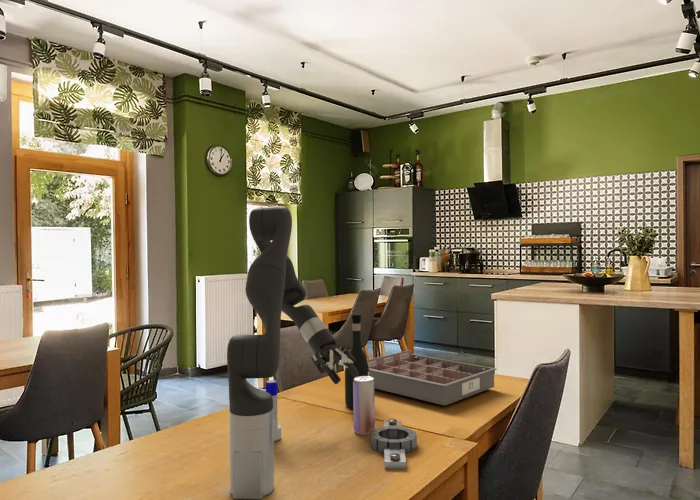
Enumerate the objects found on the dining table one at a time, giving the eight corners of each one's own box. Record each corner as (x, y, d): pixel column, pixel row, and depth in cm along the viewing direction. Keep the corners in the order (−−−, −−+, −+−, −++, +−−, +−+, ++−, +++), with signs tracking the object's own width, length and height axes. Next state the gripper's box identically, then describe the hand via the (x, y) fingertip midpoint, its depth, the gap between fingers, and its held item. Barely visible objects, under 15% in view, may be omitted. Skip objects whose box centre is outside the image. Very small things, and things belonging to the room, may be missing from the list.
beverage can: (350, 433, 146) (349, 379, 146) (359, 426, 151) (359, 375, 151) (369, 436, 143) (368, 382, 143) (378, 429, 148) (377, 377, 148)
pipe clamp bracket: (420, 469, 122) (420, 456, 122) (370, 468, 122) (369, 455, 122) (412, 426, 151) (412, 416, 151) (372, 426, 151) (371, 415, 151)
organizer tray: (445, 411, 165) (445, 379, 165) (355, 388, 194) (355, 361, 194) (497, 390, 188) (497, 363, 188) (410, 372, 216) (409, 348, 216)
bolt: (284, 439, 142) (267, 443, 139) (276, 434, 146) (259, 437, 143) (283, 381, 142) (266, 384, 139) (276, 378, 146) (259, 380, 143)
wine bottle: (360, 400, 177) (359, 312, 176) (374, 406, 170) (373, 314, 170) (340, 404, 172) (339, 314, 172) (353, 411, 166) (352, 316, 165)
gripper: (307, 330, 150) (339, 376, 143) (339, 324, 161) (369, 366, 154) (294, 347, 153) (324, 392, 146) (326, 340, 165) (355, 382, 158)
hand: (347, 379), depth 150 cm, fingers open, 8 cm apart
